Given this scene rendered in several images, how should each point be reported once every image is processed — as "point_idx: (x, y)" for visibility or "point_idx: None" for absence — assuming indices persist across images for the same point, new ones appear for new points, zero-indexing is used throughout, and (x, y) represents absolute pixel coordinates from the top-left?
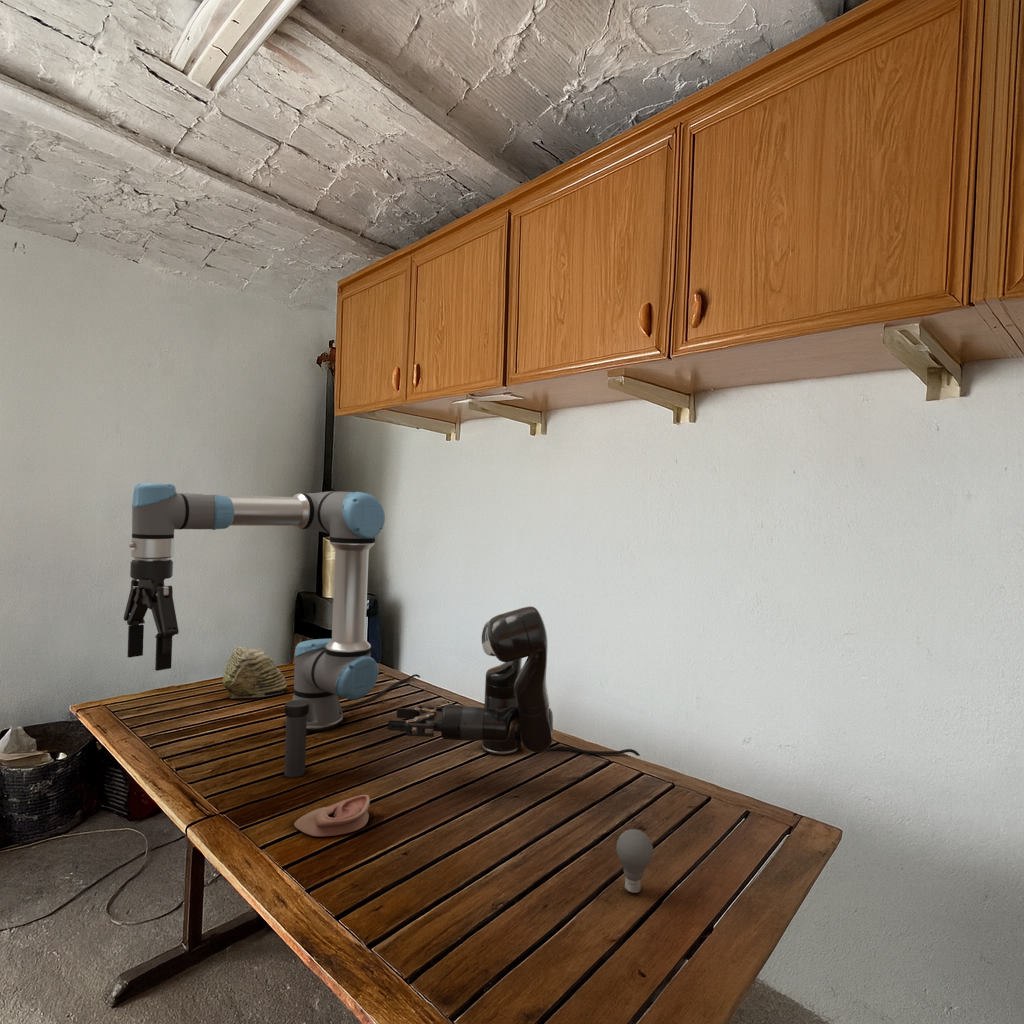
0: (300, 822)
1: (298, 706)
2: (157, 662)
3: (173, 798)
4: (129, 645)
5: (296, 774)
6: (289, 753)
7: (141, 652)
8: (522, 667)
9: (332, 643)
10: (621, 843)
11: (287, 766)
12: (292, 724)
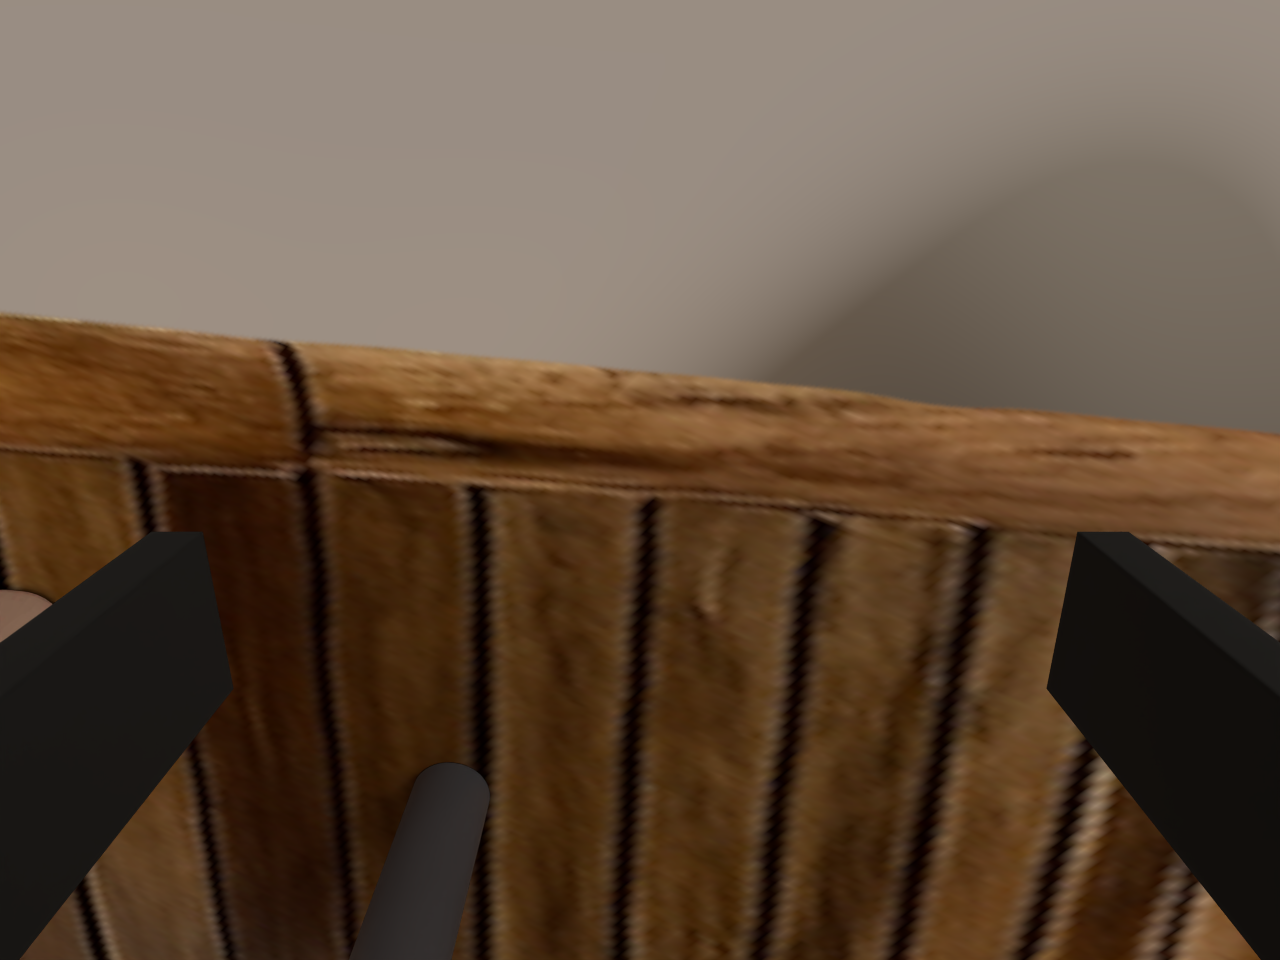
0: (5, 611)
1: None
2: (79, 587)
3: (556, 400)
4: (1183, 621)
5: (412, 788)
6: (409, 833)
7: (1072, 699)
8: None
9: None
10: None
11: (430, 791)
12: (361, 949)
